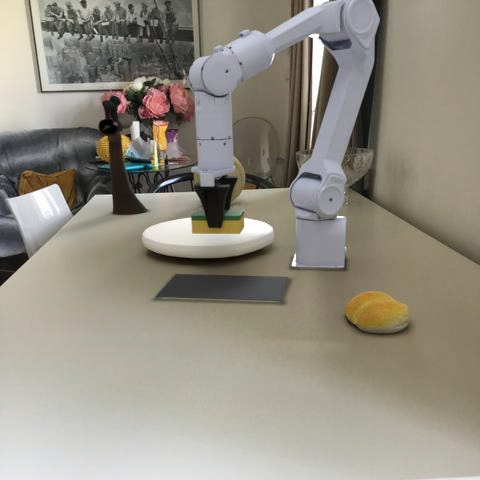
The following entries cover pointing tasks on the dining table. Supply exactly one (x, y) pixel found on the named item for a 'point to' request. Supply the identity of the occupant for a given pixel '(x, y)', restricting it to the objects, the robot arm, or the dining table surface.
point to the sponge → (231, 224)
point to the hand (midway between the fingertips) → (218, 223)
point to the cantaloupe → (238, 172)
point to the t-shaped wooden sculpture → (118, 158)
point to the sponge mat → (225, 287)
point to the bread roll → (377, 313)
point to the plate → (205, 240)
